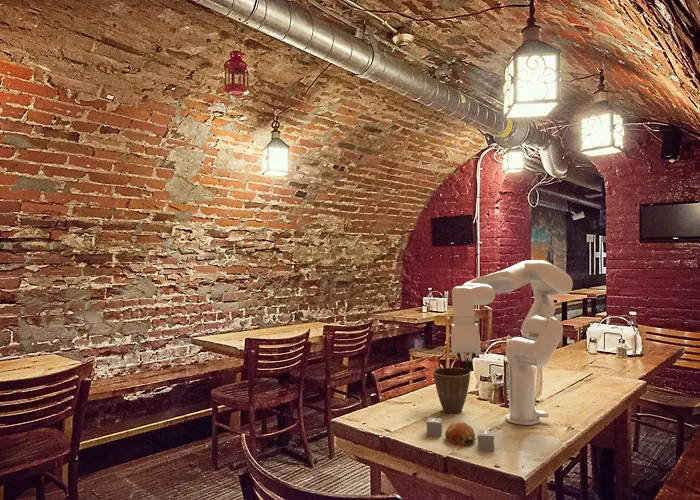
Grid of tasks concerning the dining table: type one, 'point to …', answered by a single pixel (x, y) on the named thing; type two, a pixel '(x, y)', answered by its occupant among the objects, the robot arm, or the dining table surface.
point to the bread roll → (460, 434)
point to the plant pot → (452, 388)
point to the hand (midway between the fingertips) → (467, 371)
